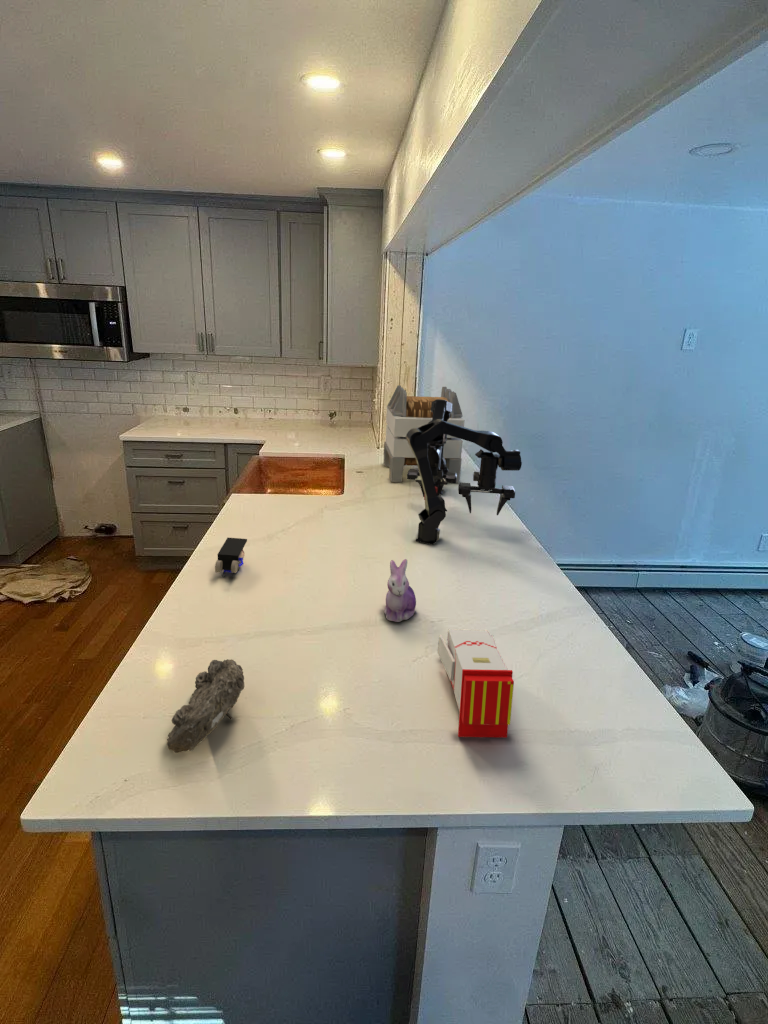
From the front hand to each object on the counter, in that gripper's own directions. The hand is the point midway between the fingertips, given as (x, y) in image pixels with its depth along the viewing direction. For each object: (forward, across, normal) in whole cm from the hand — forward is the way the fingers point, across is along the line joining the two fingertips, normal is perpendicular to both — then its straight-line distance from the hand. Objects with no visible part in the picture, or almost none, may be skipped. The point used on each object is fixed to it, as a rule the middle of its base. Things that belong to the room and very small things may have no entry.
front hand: (483, 513), depth 195 cm
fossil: (+10, +57, +101) cm, 116 cm away
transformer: (+10, +25, -80) cm, 84 cm away
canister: (+4, +19, -24) cm, 30 cm away
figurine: (+10, +24, +56) cm, 62 cm away
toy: (+10, +8, +85) cm, 86 cm away
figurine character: (+10, +75, +39) cm, 85 cm away
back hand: (+3, +19, -24) cm, 30 cm away
